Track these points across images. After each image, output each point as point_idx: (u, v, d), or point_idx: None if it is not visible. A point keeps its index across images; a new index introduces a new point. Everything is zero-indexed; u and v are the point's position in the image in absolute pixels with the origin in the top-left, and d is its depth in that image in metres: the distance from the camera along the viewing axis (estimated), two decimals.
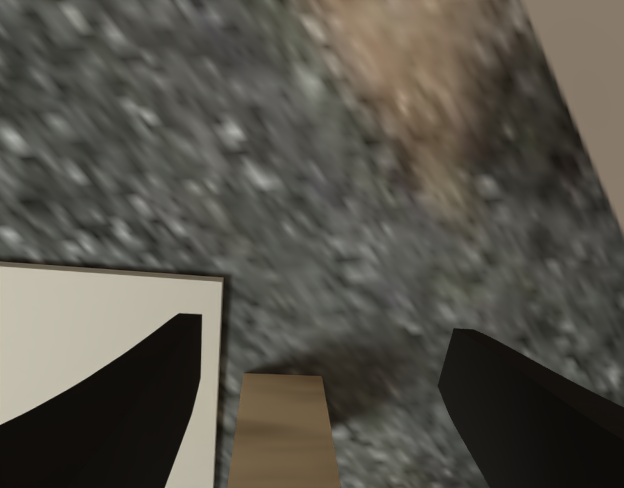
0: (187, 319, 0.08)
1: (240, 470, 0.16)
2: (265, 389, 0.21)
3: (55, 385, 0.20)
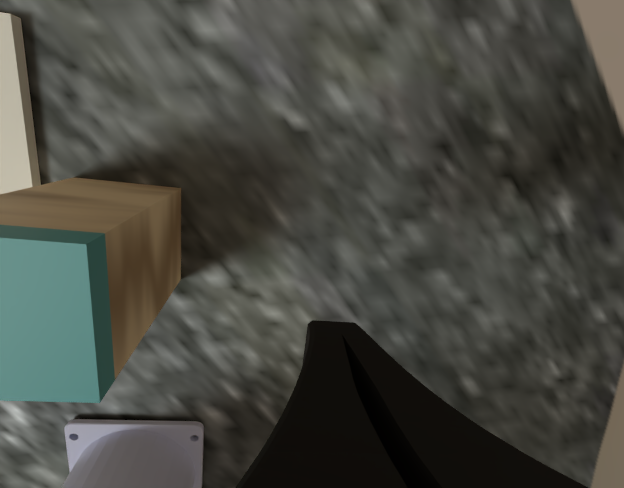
0: (329, 327, 0.09)
1: None
2: (90, 184, 0.15)
3: None
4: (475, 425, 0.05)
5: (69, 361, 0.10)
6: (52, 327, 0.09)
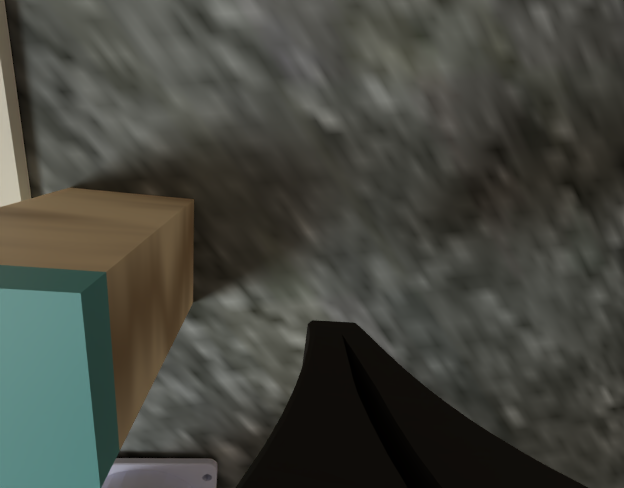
0: (329, 327, 0.09)
1: None
2: (88, 197, 0.13)
3: None
4: (476, 425, 0.05)
5: (60, 441, 0.07)
6: (36, 400, 0.07)
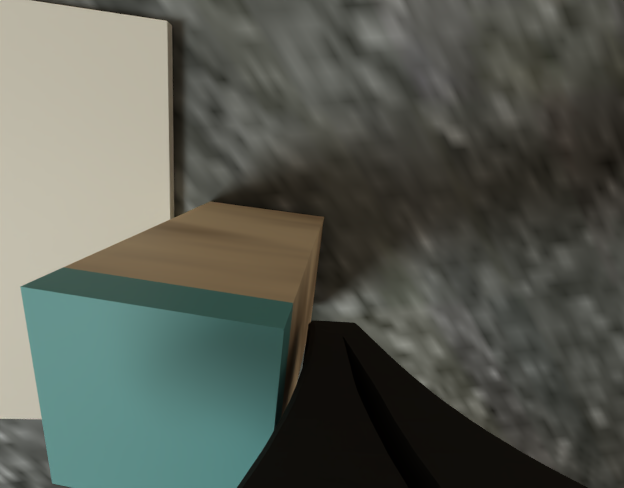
0: (329, 327, 0.09)
1: (126, 249, 0.09)
2: (231, 212, 0.14)
3: None
4: (475, 425, 0.05)
5: (235, 472, 0.07)
6: (222, 428, 0.07)
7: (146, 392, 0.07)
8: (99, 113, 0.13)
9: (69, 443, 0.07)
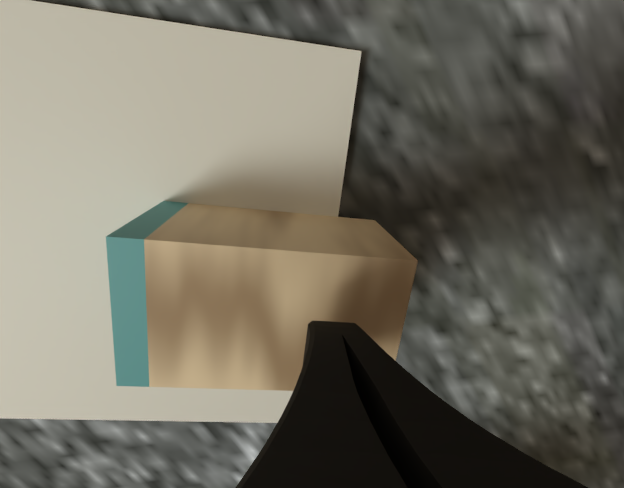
0: (329, 327, 0.09)
1: (222, 208, 0.14)
2: (350, 225, 0.14)
3: (116, 216, 0.14)
4: (475, 425, 0.05)
5: None
6: None
7: None
8: (287, 135, 0.14)
9: None
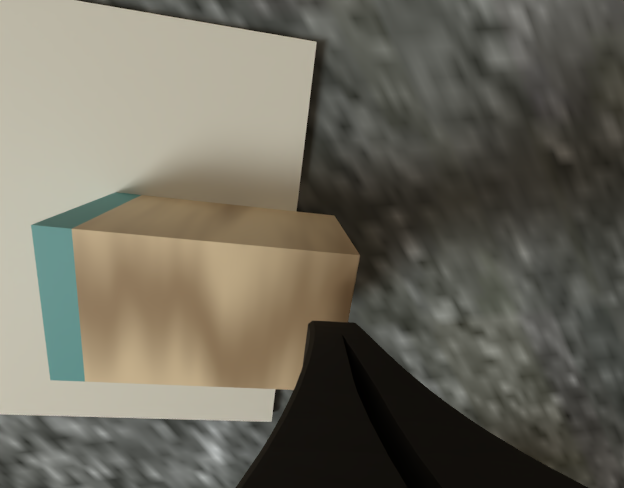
0: (329, 327, 0.09)
1: (175, 201, 0.14)
2: (305, 220, 0.13)
3: (67, 208, 0.14)
4: (475, 425, 0.05)
5: None
6: None
7: None
8: (242, 127, 0.13)
9: None
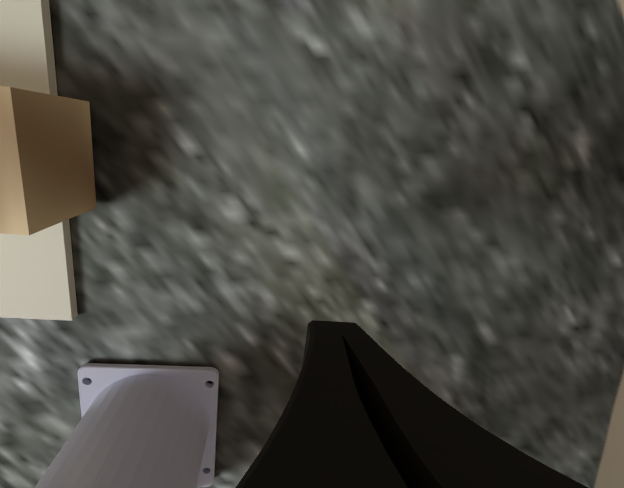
0: (329, 327, 0.09)
1: None
2: None
3: None
4: (475, 425, 0.05)
5: None
6: None
7: None
8: None
9: None
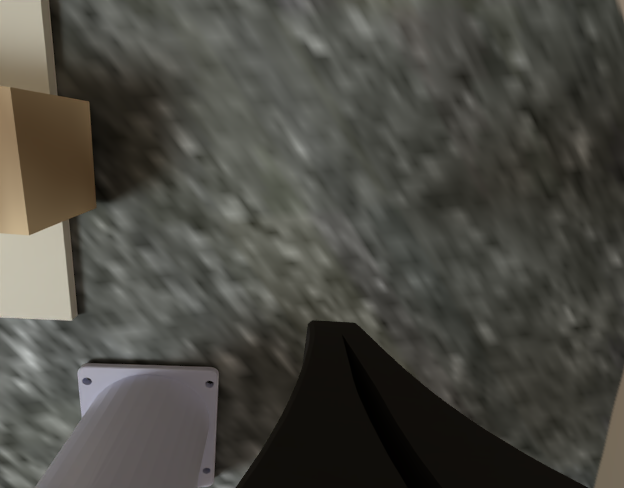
0: (329, 327, 0.09)
1: None
2: None
3: None
4: (475, 425, 0.05)
5: None
6: None
7: None
8: None
9: None
